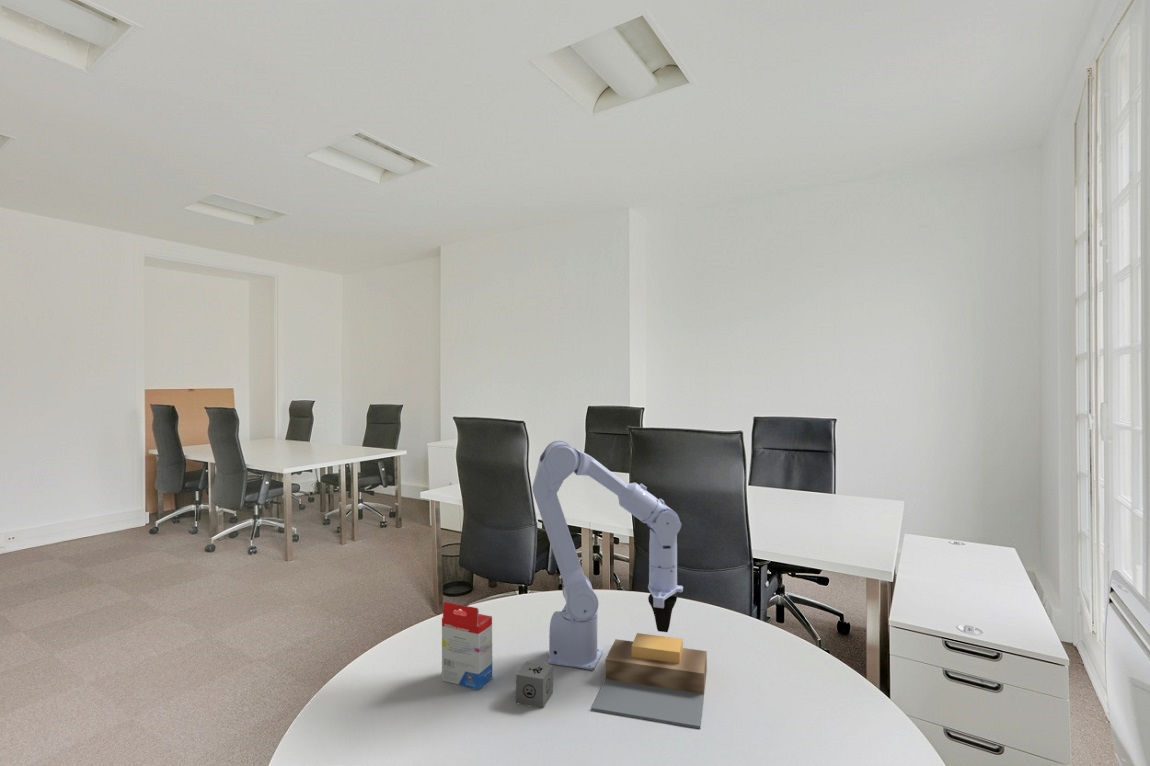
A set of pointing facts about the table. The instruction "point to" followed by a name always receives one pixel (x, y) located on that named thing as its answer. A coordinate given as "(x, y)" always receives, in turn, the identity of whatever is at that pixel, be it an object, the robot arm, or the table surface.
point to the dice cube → (534, 684)
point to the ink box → (466, 646)
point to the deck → (657, 669)
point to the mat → (650, 703)
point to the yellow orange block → (657, 648)
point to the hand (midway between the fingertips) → (663, 630)
